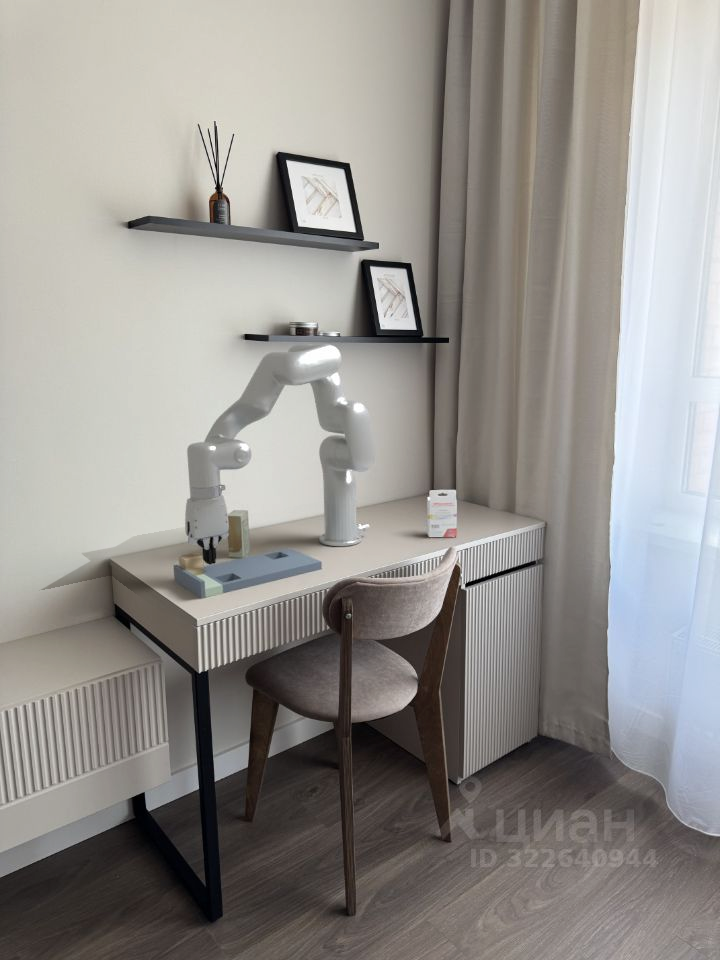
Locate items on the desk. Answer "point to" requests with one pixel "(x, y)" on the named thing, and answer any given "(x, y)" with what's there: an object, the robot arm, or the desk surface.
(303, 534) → the desk surface
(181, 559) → the block
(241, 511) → the skincare box
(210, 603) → the desk surface
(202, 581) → the board
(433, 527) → the ink cartridge box
